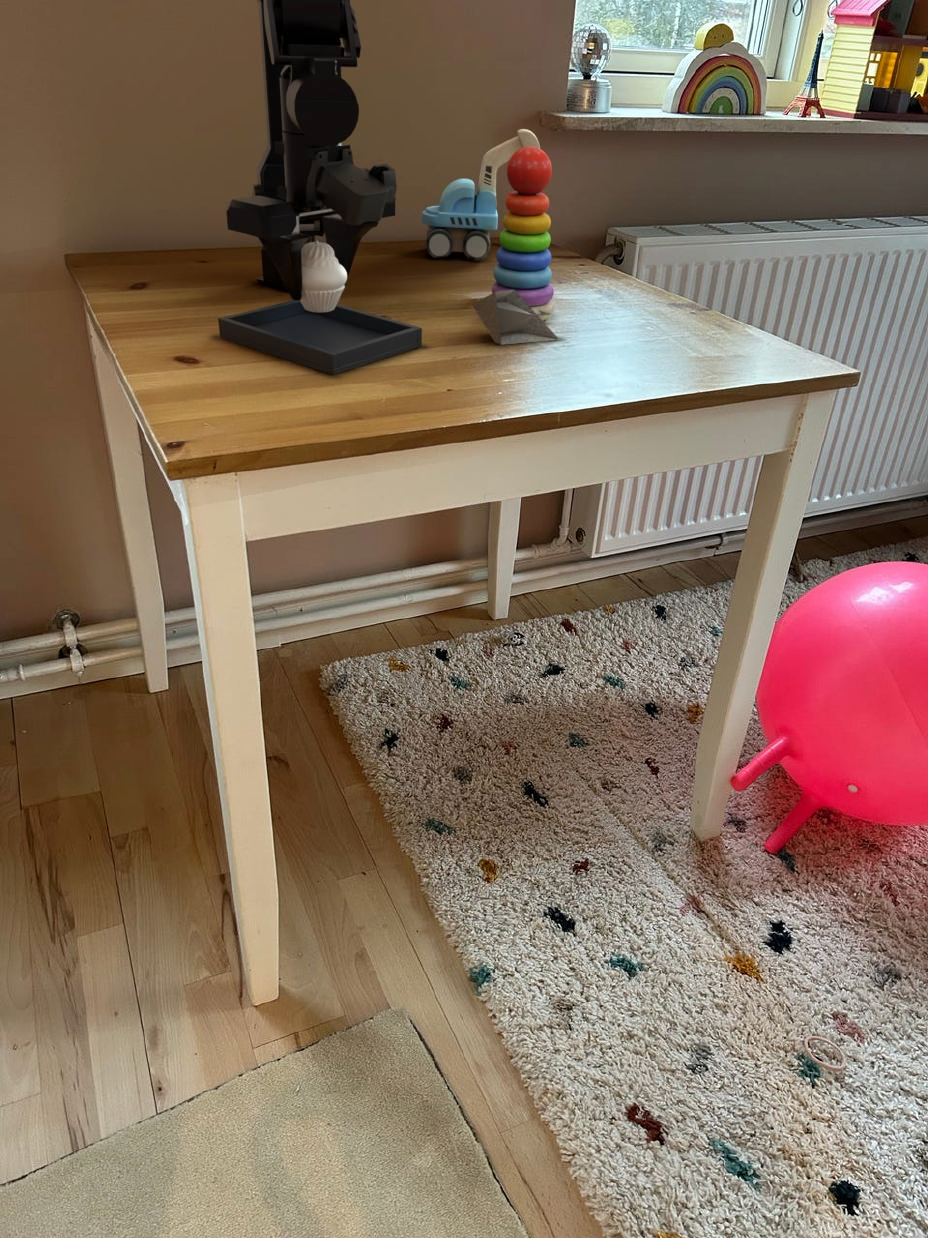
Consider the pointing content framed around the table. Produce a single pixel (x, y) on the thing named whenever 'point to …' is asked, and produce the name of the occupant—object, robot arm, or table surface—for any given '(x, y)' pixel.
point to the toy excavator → (471, 206)
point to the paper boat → (512, 319)
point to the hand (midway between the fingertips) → (318, 294)
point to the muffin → (321, 277)
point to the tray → (321, 335)
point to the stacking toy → (527, 232)
